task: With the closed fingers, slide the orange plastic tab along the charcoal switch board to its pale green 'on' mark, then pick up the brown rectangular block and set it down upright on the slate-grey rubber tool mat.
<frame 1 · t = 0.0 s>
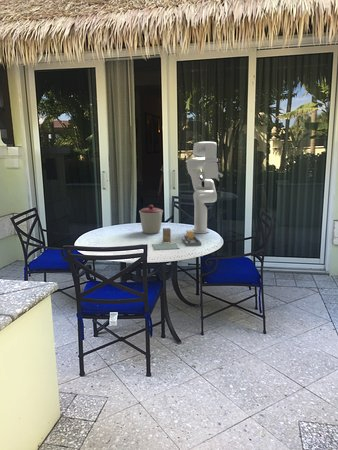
hand: (210, 186, 243), 37 cm above the table, fingers open, 9 cm apart
canister: (151, 232, 273), on the table
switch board: (191, 242, 243), on the table
tool mat: (165, 247, 233), on the table
brown rectangular block: (166, 241, 246), on the table
switch tab: (190, 234, 247), point 5 cm above the table, slide at 0.0 cm
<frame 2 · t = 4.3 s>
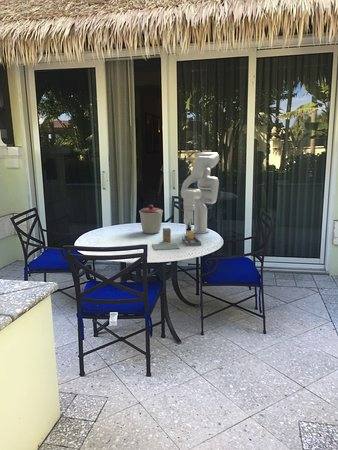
hand: (188, 234, 250), 4 cm above the table, fingers closed
switch tab: (190, 234, 246), point 5 cm above the table, slide at 0.6 cm, touching gripper
everything else where it was.
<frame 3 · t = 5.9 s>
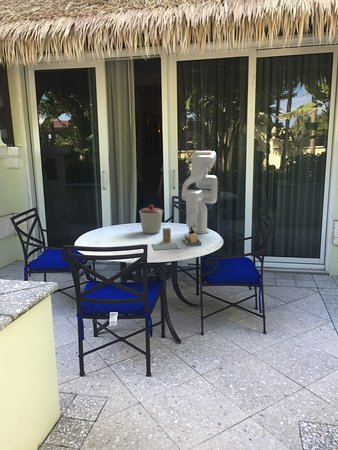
hand: (191, 237, 242), 4 cm above the table, fingers closed
switch tab: (193, 237, 238), point 5 cm above the table, slide at 8.8 cm, touching gripper
everything else where it was.
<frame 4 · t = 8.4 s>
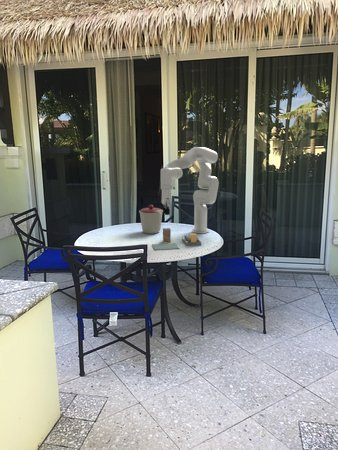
hand: (166, 213, 242), 19 cm above the table, fingers open, 4 cm apart
switch tab: (193, 237, 238), point 5 cm above the table, slide at 8.8 cm
everything else where it was.
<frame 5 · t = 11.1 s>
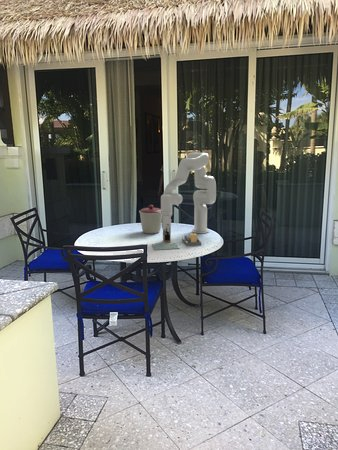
hand: (166, 238, 246), 2 cm above the table, fingers closed on brown rectangular block, 4 cm apart
brown rectangular block: (166, 241, 246), on the table, touching gripper
everything else where it was.
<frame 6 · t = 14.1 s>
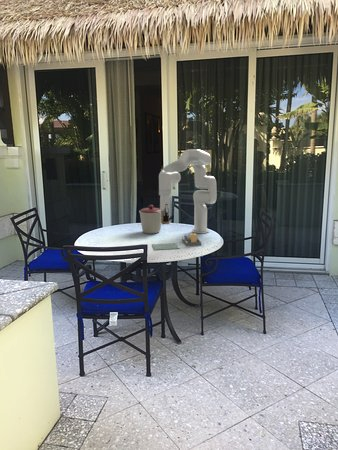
hand: (165, 220, 230), 17 cm above the table, fingers closed on brown rectangular block, 4 cm apart
brown rectangular block: (165, 223, 230), point 16 cm above the table, touching gripper
everything else where it was.
when the fingers open (4 cm above the table, at t = 17.0 s): brown rectangular block drops 1 cm, resting on tool mat.
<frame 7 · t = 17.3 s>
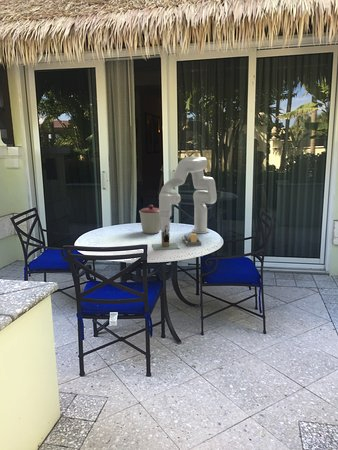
hand: (165, 240, 232), 5 cm above the table, fingers open, 7 cm apart
brown rectangular block: (165, 246, 233), point 1 cm above the table, touching tool mat
everything else where it was.
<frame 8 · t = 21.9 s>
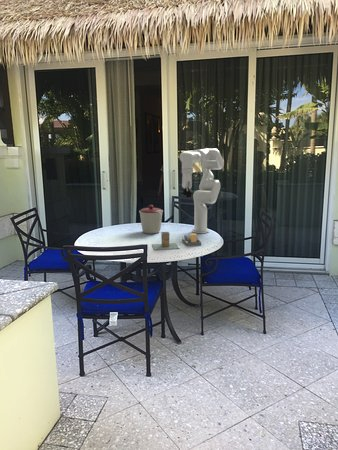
hand: (187, 196, 246), 30 cm above the table, fingers open, 9 cm apart
nothing on the table moved.
at the end: switch tab slide at 8.8 cm; brown rectangular block inside the target area on the tool mat (0.0 cm from its centre), point 0.6 cm above the tool mat's base; brown rectangular block tilted 0° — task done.
